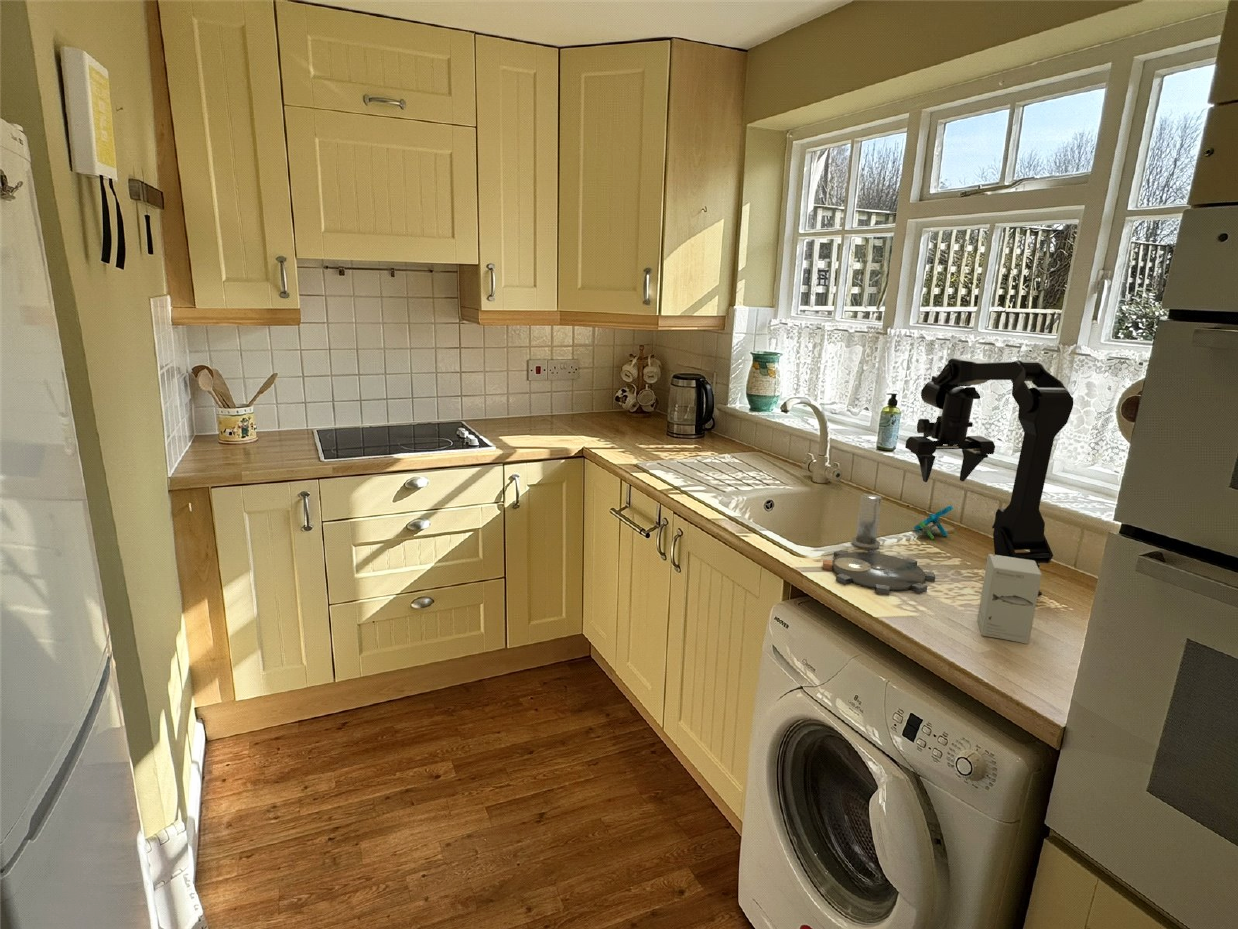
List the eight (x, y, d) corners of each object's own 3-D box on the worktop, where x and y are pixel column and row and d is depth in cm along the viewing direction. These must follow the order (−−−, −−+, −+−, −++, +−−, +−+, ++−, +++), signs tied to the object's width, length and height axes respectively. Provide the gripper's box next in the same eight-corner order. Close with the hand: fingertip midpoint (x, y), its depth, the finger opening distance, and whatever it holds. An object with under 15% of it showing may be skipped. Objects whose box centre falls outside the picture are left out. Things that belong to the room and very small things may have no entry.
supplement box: (980, 636, 123) (992, 567, 120) (976, 618, 129) (987, 552, 126) (1029, 645, 120) (1042, 574, 117) (1023, 626, 127) (1035, 558, 124)
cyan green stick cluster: (928, 517, 181) (957, 498, 173) (943, 538, 179) (973, 519, 171) (901, 531, 175) (930, 512, 167) (916, 552, 173) (946, 533, 165)
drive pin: (884, 549, 162) (890, 500, 160) (858, 550, 162) (864, 500, 159) (872, 540, 168) (878, 492, 165) (847, 540, 168) (852, 492, 165)
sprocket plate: (925, 561, 156) (926, 554, 156) (943, 601, 136) (944, 595, 136) (822, 549, 161) (822, 543, 161) (823, 587, 141) (824, 580, 141)
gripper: (971, 406, 170) (959, 469, 175) (898, 406, 167) (887, 470, 172) (1002, 418, 159) (988, 485, 164) (925, 418, 156) (913, 486, 161)
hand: (943, 481), depth 166 cm, fingers open, 9 cm apart
